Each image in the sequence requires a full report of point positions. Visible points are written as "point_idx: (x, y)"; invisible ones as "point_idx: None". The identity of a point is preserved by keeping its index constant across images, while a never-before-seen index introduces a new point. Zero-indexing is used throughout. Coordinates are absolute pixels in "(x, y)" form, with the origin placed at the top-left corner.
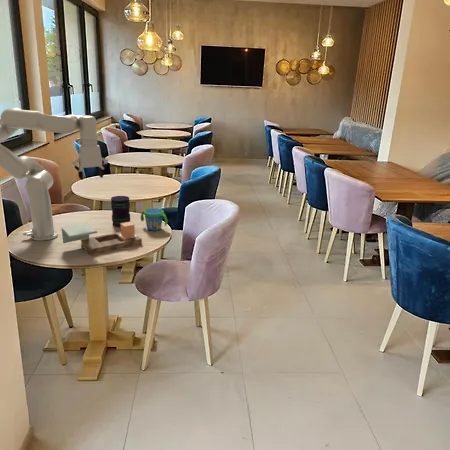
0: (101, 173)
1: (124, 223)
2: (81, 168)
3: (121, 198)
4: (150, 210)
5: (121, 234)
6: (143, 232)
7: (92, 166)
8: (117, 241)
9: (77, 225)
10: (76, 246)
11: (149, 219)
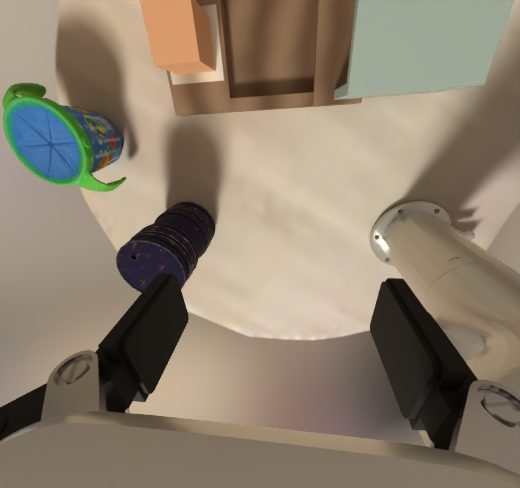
0: (147, 306)
1: (182, 50)
2: (499, 453)
3: (146, 268)
4: (63, 170)
5: (214, 66)
6: (138, 123)
7: (249, 446)
8: (239, 50)
9: (406, 72)
10: (373, 100)
11: (83, 120)
